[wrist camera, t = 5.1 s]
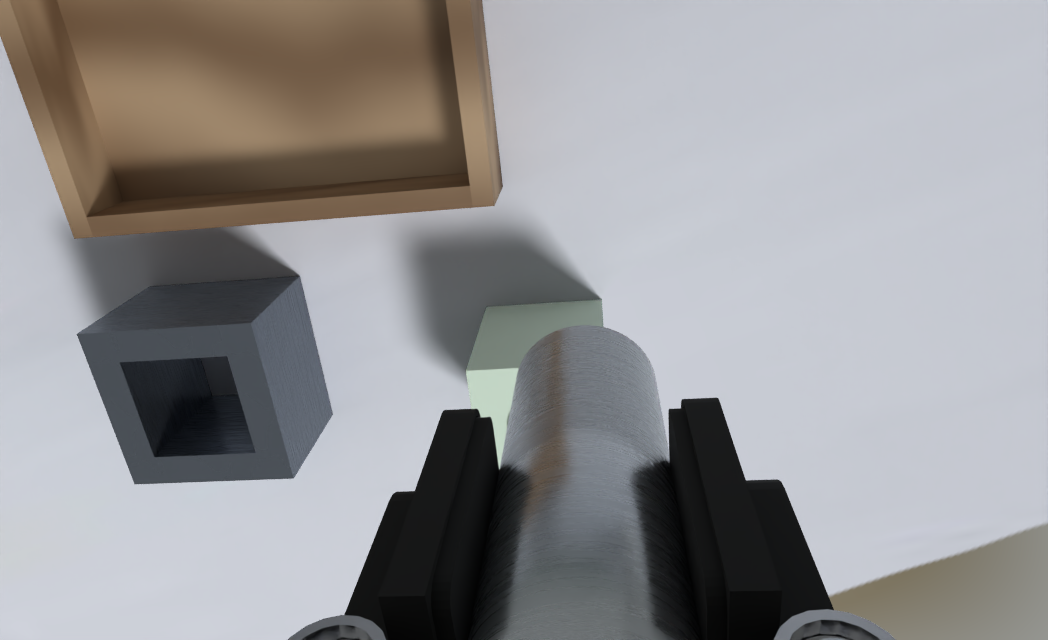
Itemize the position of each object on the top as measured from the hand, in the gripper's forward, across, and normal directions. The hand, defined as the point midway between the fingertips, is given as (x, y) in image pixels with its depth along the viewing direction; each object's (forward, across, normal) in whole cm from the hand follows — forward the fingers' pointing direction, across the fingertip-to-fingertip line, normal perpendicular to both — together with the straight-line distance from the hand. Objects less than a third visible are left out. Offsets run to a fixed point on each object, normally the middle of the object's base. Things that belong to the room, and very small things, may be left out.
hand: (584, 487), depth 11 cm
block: (+19, +16, +6) cm, 25 cm away
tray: (+19, +12, -7) cm, 23 cm away
